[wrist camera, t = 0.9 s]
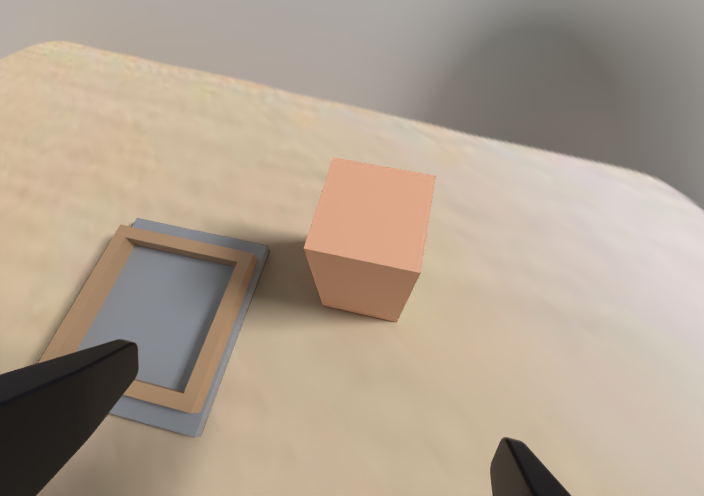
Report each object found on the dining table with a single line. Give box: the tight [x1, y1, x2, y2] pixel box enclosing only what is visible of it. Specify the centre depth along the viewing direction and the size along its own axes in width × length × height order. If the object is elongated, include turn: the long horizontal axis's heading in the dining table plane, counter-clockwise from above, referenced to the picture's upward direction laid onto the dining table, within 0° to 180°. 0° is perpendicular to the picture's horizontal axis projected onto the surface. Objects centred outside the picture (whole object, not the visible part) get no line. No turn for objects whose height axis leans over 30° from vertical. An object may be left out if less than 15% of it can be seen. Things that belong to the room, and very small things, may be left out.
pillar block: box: [304, 158, 436, 322], centre depth 19 cm, size 5×5×9 cm
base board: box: [38, 218, 269, 437], centre depth 21 cm, size 12×10×2 cm
